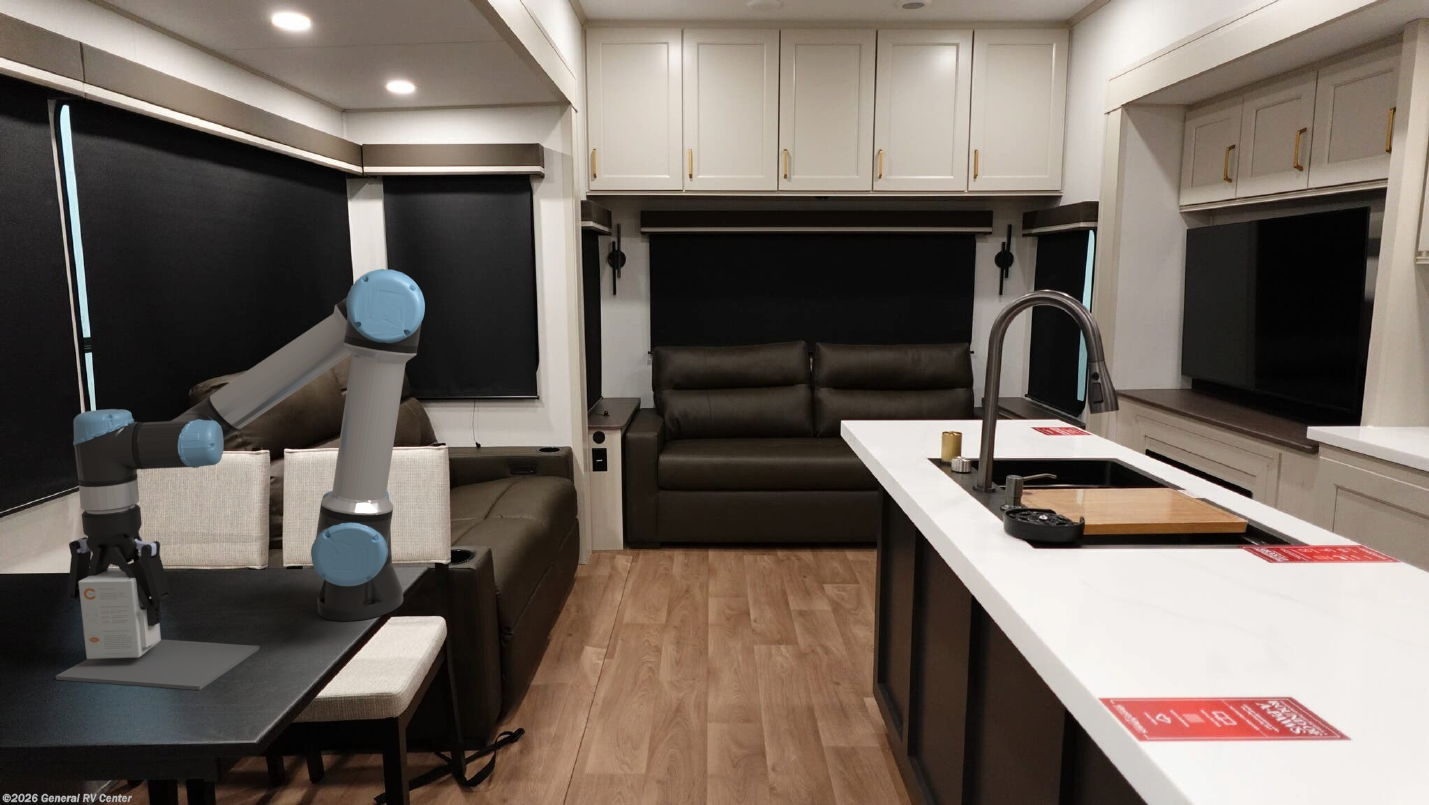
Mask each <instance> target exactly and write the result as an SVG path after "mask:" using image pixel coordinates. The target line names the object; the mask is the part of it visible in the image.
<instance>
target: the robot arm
mask: <svg viewBox="0 0 1429 805" xmlns="http://www.w3.org/2000/svg"><path fill="white" fill-rule="evenodd" d="M425 306H426V305H425V299H424V294H423V292H422V290H421V289H420V287H419V286H418V284H417V283H416V282H415V281H414V279H412V278H411V277H409V275H406V274H405V273H404V272H401V271H398V270H397V271H396V270H394V269H384V268H380V269H379V268H378V269H374V270H370V271H368V272H366V273H365V274H362V275H361V276H360V277H359V278H357V279H356V280H355V281H354V283H353V285H351V287H350V290H349V291H348V293H347V296H346V297H345V298H344V299H342V300H341V301H340V302H338V303H336V304H335V305H334V310H333V313H332V314H331V315H329V316H328V317H326V318H325V319H323V320H322V321H320V322H319V323H317V324H315V325H314V326H312V327H311V328H310V329H308V330H307V331H306V332H303V333H302V334H301V335H299V336H297V337H296V338H295V339H293V340H292V341H290V342H288V343H287V344H285V345H284V346H283V347H281V348H280V349H279V350H277V351H275V352H273V353H272V354H271V355H269V356H268V357H266V358H264V359H263V360H262V361H260V362H258V363H257V364H256V365H254V366H253V367H251V368H249V369H248V370H247V371H245V372H243V373H242V374H241V375H239V376H238V377H236V378H235V379H233V380H232V381H230V382H228V384H225V385H224V386H222V387H221V388H220V389H219V390H217V391H215V392H214V393H212V394H211V395H210V396H208V397H206V398H205V399H203V400H202V401H200V402H199V403H197V404H196V405H194V406H193V407H191V408H189V409H187V410H186V411H185V412H183V413H181V414H180V415H179V416H177V417H175V418H174V419H172V420H168V421H167V420H166V421H154V422H153V421H150V422H141V421H135V419H134V418H133V416H132V415H133V414H132V412H131V411H129V410H127V409H117V408H110V409H109V408H108V409H96V410H90V411H89V410H87V411H84V412H81V413H78V414H77V415H76V416H75V417H74V418H73V443H72V445H73V448H74V454H75V462H76V470H77V477H78V478H77V479H78V488H79V489H78V492H79V503H80V509H81V510H83V513H81V520H82V521H81V522H82V523H81V524H82V530H83V532H82V533H83V534H84V535H85V536H84V537H80V538H78V539H76V540H73V541H70V542H69V543H68V547H69V550H70V551H69V552H70V556H71V557H70V566H69V573H68V574H69V576H68V585H67V596H66V597H67V599H68V600H70V601H72V600H75V601H77V602H78V603H79V604H80V605H81V601H80V592H79V584H78V582H79V581H81V580H82V579H84V578H86V577H88V576H95V575H98V574H100V573H103V572H105V571H107V570H108V568H110V565H112V566H115V567H118V568H120V570H121V571H122V572H125V573H126V575H127V577H128V578H135V579H136V584H137V593H138V597H139V599H140V601H141V602H142V604H143V607H141V608H139V619H140V630H141V641H142V647H148V646H150V645H152V644H153V643H155V642H157V641H159V630H158V623H159V624H160V623H161V620H162V618H161V617H162V615H161V604H163V603H165V602H166V601H168V600H170V599H172V593H171V592H172V591H171V589H170V585H169V582H168V578H167V575H166V572H165V568H164V565H163V562H162V558H161V554H160V553H161V543H160V542H159V541H158V540H154V541H152V542H148V541H143V539H142V537H141V536H140V529H141V527H142V523H143V520H142V511H141V506H140V505H138V503H139V502H140V494H139V482H138V480H139V479H138V470H153V469H155V470H156V469H157V470H158V469H175V468H177V469H179V468H180V469H181V468H192V469H196V468H200V467H205V466H206V467H207V466H208V467H209V466H215V465H217V464H219V463H220V461H221V460H222V458H223V455H224V454H223V453H224V449H225V448H224V445H225V444H224V441H225V440H227V439H229V438H230V437H232V436H233V435H234V434H236V433H237V432H238V431H240V430H241V429H242V428H244V427H245V426H247V425H248V424H250V423H252V422H253V421H254V420H256V419H257V418H258V417H260V416H262V415H263V414H264V413H266V412H267V411H269V410H271V409H272V408H274V407H275V406H277V405H278V404H280V403H281V402H282V401H284V400H286V399H288V397H290V396H291V395H293V394H294V393H296V392H298V391H299V390H300V389H302V388H303V387H305V386H306V385H307V384H310V383H311V382H312V381H314V380H315V379H316V378H318V377H320V376H321V375H322V374H324V373H326V372H327V371H328V370H330V369H331V368H333V367H334V366H336V365H337V364H339V363H341V362H342V361H343V360H345V359H346V358H348V357H349V356H351V360H350V366H349V367H350V368H349V375H348V382H347V387H346V388H347V389H346V394H345V401H344V409H343V414H342V415H343V416H342V422H341V430H340V437H339V442H338V452H337V458H336V463H335V465H336V466H335V471H334V479H333V486H332V490H331V491H328V492H326V493H324V494H323V496H322V499H321V502H320V508H319V512H318V515H319V516H318V522H317V526H316V528H317V529H316V534H315V539H314V540H313V543H312V545H311V549H310V558H311V563H312V566H313V568H314V570H315V572H316V573H317V574H318V575H319V577H321V578H322V584H321V587H320V590H319V594H318V596H317V613H318V614H319V616H321V618H324V619H327V620H332V621H341V622H351V621H353V622H355V621H361V620H363V621H364V620H368V619H373V618H377V617H381V616H383V615H387V614H389V613H391V612H393V611H395V610H396V609H398V608H399V607H400V606H401V605H402V604H403V602H404V591H403V587H402V584H401V582H400V579H399V577H398V575H397V572H396V569H395V567H394V565H393V559H392V558H393V556H392V529H391V526H392V518H393V513H394V512H393V510H394V504H393V503H392V501H391V500H390V494H389V491H388V483H389V477H390V471H391V464H392V458H393V450H394V445H395V444H394V442H395V439H396V438H395V437H396V430H397V423H398V417H399V411H400V410H399V409H400V404H401V396H402V390H403V384H404V378H405V368H406V363H407V362H408V361H409V360H411V359H413V358H414V357H415V356H417V354H418V348H419V342H420V334H421V327H422V321H423V319H424V316H425V311H426V310H425V308H426V307H425ZM86 536H87V537H86ZM150 597H151V599H150Z"/></svg>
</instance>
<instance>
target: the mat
mask: <svg viewBox="0 0 1429 805" xmlns="http://www.w3.org/2000/svg"><path fill="white" fill-rule="evenodd" d="M260 649H261V648H260V646H259V645H252V644H251V645H250V644H236V643H235V644H234V643H219V642H204V641H189V640H188V641H187V640H178V639H177V640H176V639H175V640H174V639H162V638H161V641H160V642H158V643H157V644H156V645H155V646H153V647H152V648H151V649H149V650H148V651H147V652H146V653H144V654H143V655H142V656H140V657H133V658H99V659H87V658H86V660H83V661H81V662H79V663H78V664H75V665H74V666H71V667H70V668H68V669H65V670H64V671H62V672H60V673H58V674H57V675H55V680H57V681H58V680H59V681H72V682H83V683H96V684H98V683H99V684H109V685H110V684H112V685H126V686H136V687H137V686H139V687H140V686H141V687H150V688H151V687H153V688H166V689H179V690H193V691H200V690H201V691H202V689H204V688H205V687H207V686H208V685H209V684H211V683H213V682H214V681H216V680H217V679H218V678H220V677H221V676H223V675H224V674H225V673H227V672H228V671H230V670H231V669H233V668H235V667H236V666H238V665H239V664H240V663H242V662H244V661H245V660H246V659H248V658H249V657H251V656H252V655H254V654H255V653H257V652H259V650H260Z"/></svg>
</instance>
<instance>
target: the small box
mask: <svg viewBox="0 0 1429 805" xmlns="http://www.w3.org/2000/svg"><path fill="white" fill-rule="evenodd" d="M78 584H79V592H80V601H81V604H80V610H81V619H82V627H83V638H84V639H83V640H84V647H85V655H86V660H87V659H99V658H133V657H140V656H142V655H143V654H144V653H146V652H147V651H148V650H149V649H151V648H152V647H153V646H155V645H156V644H157V643H158V642H160V641H161V639H162V637H161V636H162V635H161V626H160V623H158V630H159V641H157V642H155V643H153V644H152V645H150V646H148V647H142V641H141V630H140V619H139V608H141V607H143V604H142V602H141V601H140V599H139V597H138V593H137V584H136V579H135V578H128V577H127V575H126V573H125V572H122V571H121V570H120V568H119V567H115V568H113V567H112V568H111V567H109V568H108V570H107V571H105V572H103V573H100V574H98V575H95V576H88V577H86V578H84V579H82V580H81V581H79V582H78ZM150 599H151V597H150Z"/></svg>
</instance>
